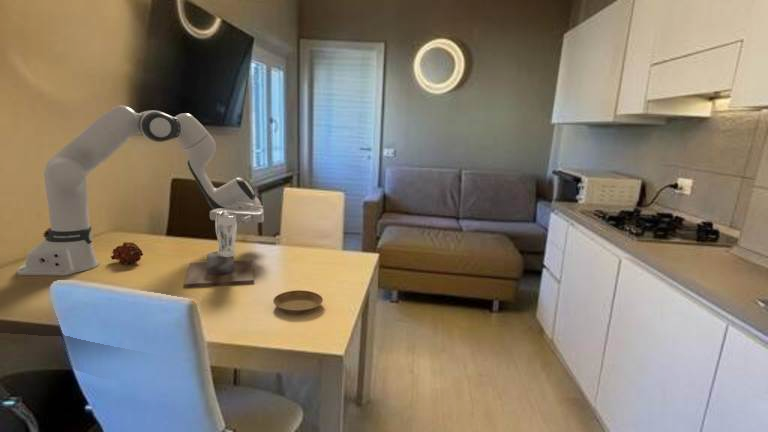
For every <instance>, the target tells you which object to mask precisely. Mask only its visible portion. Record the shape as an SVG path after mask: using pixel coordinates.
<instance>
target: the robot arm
mask: <svg viewBox="0 0 768 432" xmlns="http://www.w3.org/2000/svg"><path fill="white" fill-rule="evenodd" d="M136 135H141V136H143V137H144V138H145V139H147V140H149V141H151V142H152V141H153V142H155V143H164V142H167V141H170V140H173V139H175V141H177V142H178V143H179V144H180V145H181V147H182V148H183V149H184V150H185V152H186V154H187V157H188V160H187V166H188V169H189V171H190V173H191V174H192V177H193V178H194V180H195V181H196V183H197V184H198V186H199V189H201V191H202V193H203V195H204V197H205V198H206V201H207V203H208V205H209V206H210V208H211V209H212V210H210V211H209V219H210V220H211V221H216V213H219V212H234V213H236V220H237V224H240V225H242V224H243V225H244V224H248V223H257V224H259V223H263V222H264V221H265V220H264V219H265V211H264V206H263V205H262V203H261V200H260V199H259V198H258V197H257V196H256V190H255V189H254V187H253V186H252V184H251V183H250V182H249V181H248V180H247V179H245V178H243V177H236V178H233V179H231V180H230V181H228V182H227V183H225V184H223V185H221V186H219V187H214V185H213V183H212V181H211V180H210V178H209V176H208V174H207V173H206V167H207V165H208V164H209V163H210V162H211V161H212V159H213V157H214V156H215V153H216V150H217V145H216V144H217V143H216V142H215V140H214V138H213V136H212V135H211V134H210V132H209V131H208V130H207V129H206V128H205V127H204V125H203V124H202V123H200V121H199V120H198V119H197V118H195V117H194V115H192V114H190V113H187V112H185V113H179V114H177V115H175V116H172V115H170V114H168V113H165V112H162V111H160V110H156V109H155V110H154V109H153V110H151V109H150V110H149V109H148V110H144V111H140V112H139V111H138V112H136V111H135V110H134V109H132V108H131V107H129V106H126V105H122V104H120V105H117V106H114V107H113V108H111V109H109V110H107V111H106V112H105V113H103V114H102V115H100V116H99V117H98V118H97V119H96V120H95V121H93V122H92V123H90V125H89V126H88V127H87V128H85V129H84V130H83V131H82V132H81V133H80V134H79V135H77V137H75V138H74V139H73V140H71V141H70V142H69V143H68V144H67V145H66V146H64V147H63V148H62V149H61V150H60V151H58V152H57V153H56V154H55V155H53V156H52V157H51V158H50V159H49V160H48V161H47V163H46V165H45V168H44V172H43V176H44V184H45V192H46V198H47V205H48V214H49V215H48V216H49V224H50V226H49V227H48V228H47V229H46V230H45V231H44V232H43V233H42V236H43V237H44V240H43V241H42V242H41V243H39V244H37V245H36V246H35V247H34V248H32V249H31V250H30V251H28V253H27V254H26V257H25V258H26V259H25V263H24V264H22V265H21V266H20V267H18V269H17V275H18V276H68V275H72V274H76V273H79V272H84V271H87V270H91V269H94V268H95V267H97V266H99V261H98V260H97V257H96V254H95V251H94V247H93V238H94V237H93V231H92V230H93V229H92V226H91V224H90V214H89V213H90V212H89V201H88V185H87V176H88V175H90V174H91V172H93V171H94V170H96V169H97V167H99V166H101V164H103V163H104V162H106V161H107V160H108V159H109V158H110V157H111V156H112V155H113V154H115V153H116V152H117V151H118V150H119V149H120V148H121V147H122V146H123V145H124V144H125V143H127V142H128V140H129V139H130V138H132V137H133V136H136Z"/></svg>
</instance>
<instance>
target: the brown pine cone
mask: <svg viewBox="0 0 768 432" xmlns="http://www.w3.org/2000/svg"><path fill="white" fill-rule="evenodd" d="M110 253H111V254H112V255H110V258H111V260H116V261H118V263H119V264H121V265H125V264H128V265H134V264H135V263H136V262H139V261H140V260H142V259H141V257H142V256H144V253H143V251H142V249H141V248H140V247H139V246H138V245H137V244H135V243H134V242H133V241H132V242H131V241H130V242H128V241H127V242H126V241H125V242H123V243H122V245H118V246H116V247H115V248H113V250H112V251H111V252H110ZM133 263H134V264H133Z"/></svg>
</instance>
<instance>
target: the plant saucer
mask: <svg viewBox="0 0 768 432" xmlns="http://www.w3.org/2000/svg"><path fill="white" fill-rule="evenodd" d="M272 301H273V302H272V303H273V304H274V305H275V307H276V308H277V309H278V310H280V312H282V313H284V314H287V315H293V316H294V315H295V316H299V315H300V316H301V315H306V314H309V313H312V312H314V311H315V310H317V309H318V307H320V306H321V305H322V303H323V301H324V298H323V297H322V296H321V295H320V294H319V293H317V292H313V291H309V290H290V291H285V292H281V293H279V294H278V295H275V297H274V298H273V299H272Z"/></svg>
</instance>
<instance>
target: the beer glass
mask: <svg viewBox="0 0 768 432" xmlns="http://www.w3.org/2000/svg"><path fill="white" fill-rule="evenodd" d="M237 227H238V223H237V220H236V213H234V212H219V213H216V220H215V234H216V237H217V243H218V250H217V251H218V256H219V257H222V258H229V257H233V256H234V257H236V254H237V252H236V249H235V248H236V247H235V242H236V236H237V230H238V228H237Z"/></svg>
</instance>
